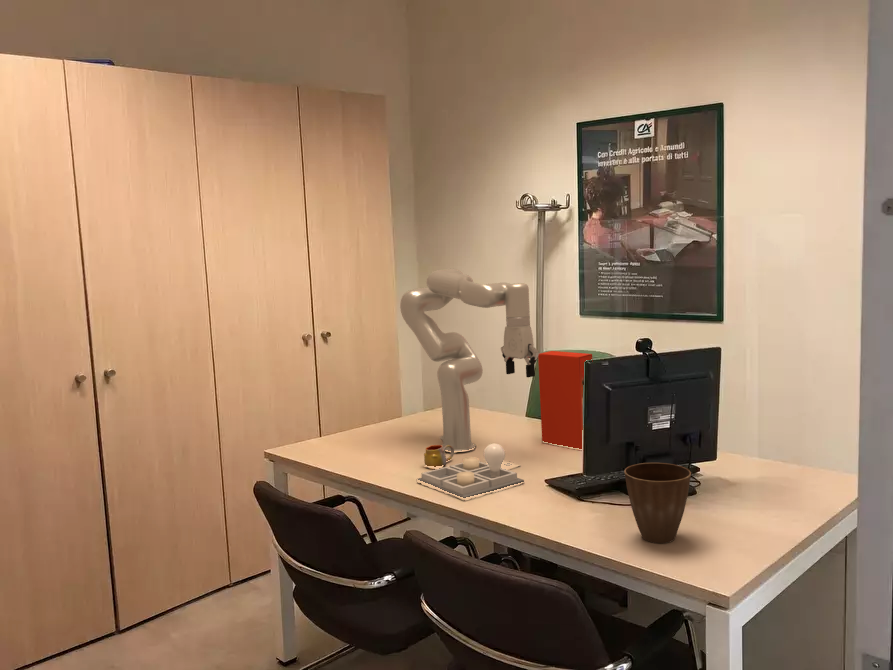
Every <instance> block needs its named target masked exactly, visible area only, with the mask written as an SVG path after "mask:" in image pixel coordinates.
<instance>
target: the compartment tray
mask: <svg viewBox="0 0 893 670" xmlns="http://www.w3.org/2000/svg"><path fill="white" fill-rule="evenodd" d="M420 476H421V477H419V478H417V479H418V480H420V481H423V482H425V483H428V484H431V485H433V486H435V487H438V488H440V489H442V490H444V491H447V492H449V493H452V494H455V495H457V496H460V497H463V498H466V497H470V496H474V495H478V494H482V493H486V492H490V491H494V490H497V489H501V488H504V487H507V486H510V485H514V484H518V483H521V482H524V483H525V479H522V478H519V477H518V473H517V472H515V471H512V470H506V469H502V468H500V477H496V478H491V470H490V468H489V465H488V464H486V462H482V461H480V458H478V457H475V456H469V457H465V458H462V462H460V463H455V464H452V465H449V466H444V467H443V468H439V469H435V470H434V469H431V470H428V471H425V472H421V474H420Z"/></svg>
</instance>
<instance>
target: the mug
mask: <svg viewBox="0 0 893 670" xmlns="http://www.w3.org/2000/svg"><path fill="white" fill-rule="evenodd" d="M447 447H450V449H451V453H450V455H449V456H448V457H447V456H446V455H447V453H445V449H446V448H447ZM424 452H425V453H424V454H423V457H424V458H423V460H424V461H423V462H424V466H425V465H427V466H434V467H436V466H442V465H445V466H446V464H447V463H446V461H448V460H450V459H451V460H452V458H453V457H454V455H455V453H454V449H453V447H452V446H450V445H446V446H445V447H444V448H443V446H442V444H432V445H429V446H427V447H425V451H424ZM451 460H450V461H451ZM448 462H449V461H448Z"/></svg>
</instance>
